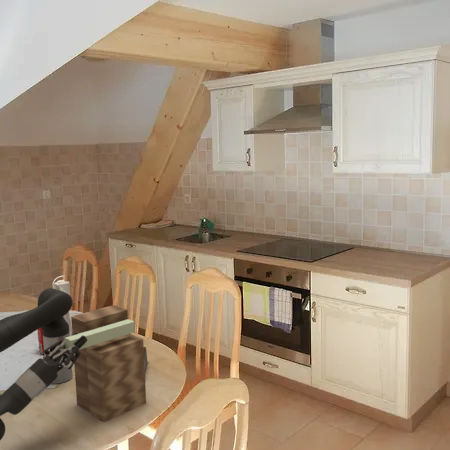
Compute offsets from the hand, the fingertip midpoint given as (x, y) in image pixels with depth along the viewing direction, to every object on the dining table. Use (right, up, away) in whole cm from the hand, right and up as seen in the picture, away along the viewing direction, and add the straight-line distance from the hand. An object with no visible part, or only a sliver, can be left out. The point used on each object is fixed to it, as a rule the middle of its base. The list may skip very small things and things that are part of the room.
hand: (81, 336), depth 157 cm
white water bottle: (-28, -17, +74) cm, 81 cm away
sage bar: (+5, -2, +5) cm, 8 cm away
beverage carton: (+9, -22, +39) cm, 46 cm away
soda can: (-30, -19, +59) cm, 69 cm away
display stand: (+6, -25, +15) cm, 30 cm away
